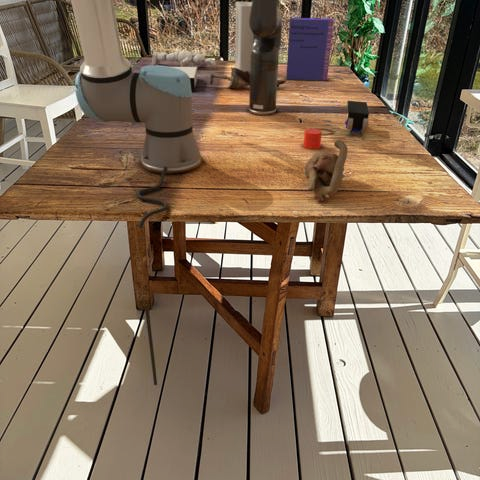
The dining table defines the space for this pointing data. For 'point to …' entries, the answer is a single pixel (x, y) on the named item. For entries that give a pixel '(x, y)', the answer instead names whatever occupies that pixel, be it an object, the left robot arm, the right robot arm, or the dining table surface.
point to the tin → (312, 138)
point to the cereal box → (309, 48)
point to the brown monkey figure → (326, 171)
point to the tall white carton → (243, 36)
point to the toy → (181, 58)
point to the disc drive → (190, 75)
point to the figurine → (239, 78)
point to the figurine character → (357, 116)
